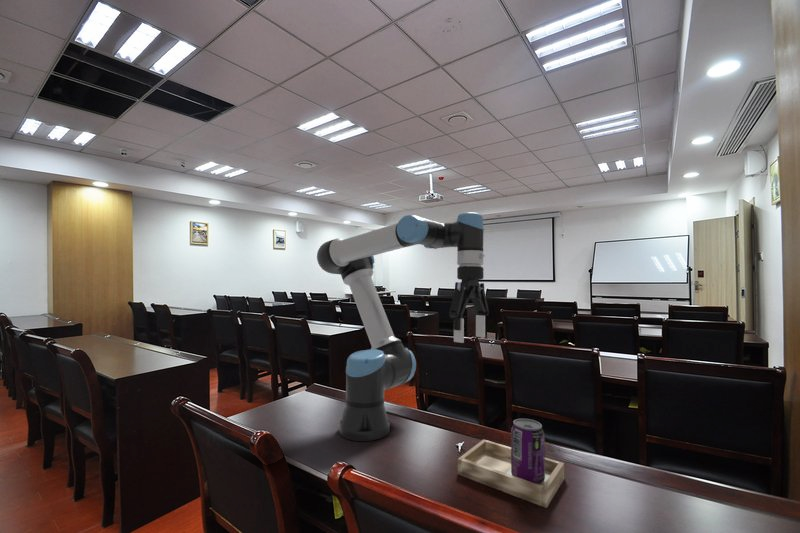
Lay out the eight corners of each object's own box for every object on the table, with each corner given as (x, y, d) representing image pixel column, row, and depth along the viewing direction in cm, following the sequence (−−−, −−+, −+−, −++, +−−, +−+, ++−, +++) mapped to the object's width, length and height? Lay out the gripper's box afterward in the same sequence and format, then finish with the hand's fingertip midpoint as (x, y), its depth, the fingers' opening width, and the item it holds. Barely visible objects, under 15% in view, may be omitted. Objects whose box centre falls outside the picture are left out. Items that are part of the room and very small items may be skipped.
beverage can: (547, 489, 75) (546, 431, 76) (512, 484, 77) (512, 427, 78) (542, 472, 82) (541, 419, 83) (510, 468, 84) (510, 416, 85)
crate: (457, 474, 83) (457, 458, 83) (483, 452, 94) (483, 439, 94) (546, 508, 71) (546, 490, 71) (564, 478, 82) (564, 463, 82)
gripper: (461, 263, 92) (460, 346, 90) (499, 267, 111) (499, 336, 110) (436, 264, 96) (435, 343, 95) (477, 268, 116) (477, 333, 115)
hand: (470, 339), depth 103 cm, fingers open, 13 cm apart
